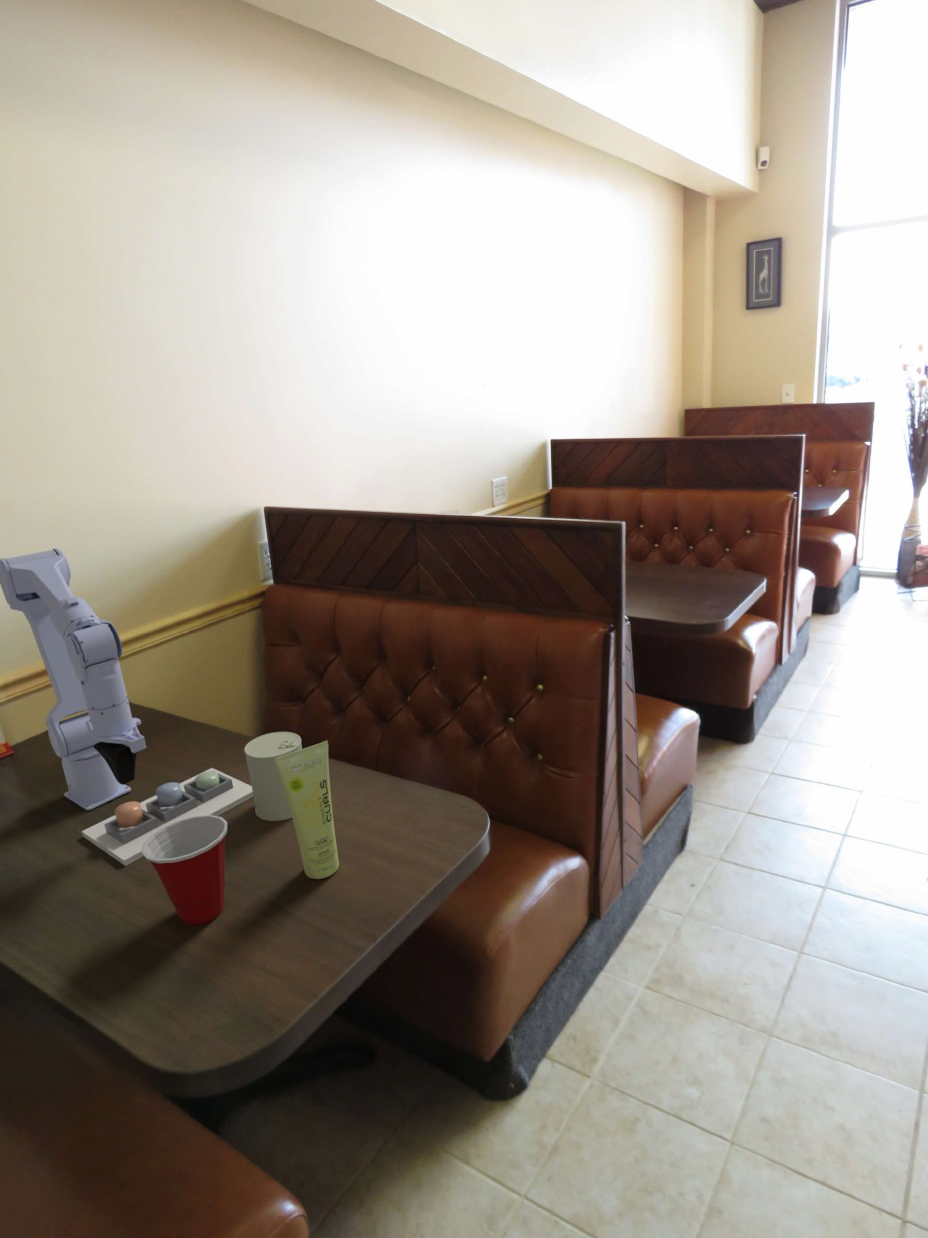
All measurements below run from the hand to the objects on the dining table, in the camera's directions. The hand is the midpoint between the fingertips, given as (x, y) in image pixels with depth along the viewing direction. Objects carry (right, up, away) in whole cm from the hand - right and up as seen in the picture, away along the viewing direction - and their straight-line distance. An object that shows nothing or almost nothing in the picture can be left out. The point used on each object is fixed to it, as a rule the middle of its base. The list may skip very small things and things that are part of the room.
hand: (126, 781), depth 118 cm
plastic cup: (+18, -14, -17) cm, 28 cm away
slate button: (+4, -5, +7) cm, 9 cm away
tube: (+33, -11, -10) cm, 36 cm away
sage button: (+9, -4, +12) cm, 15 cm away
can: (+23, -6, +7) cm, 25 cm away
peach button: (0, -7, +2) cm, 7 cm away
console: (+5, -7, +7) cm, 11 cm away
